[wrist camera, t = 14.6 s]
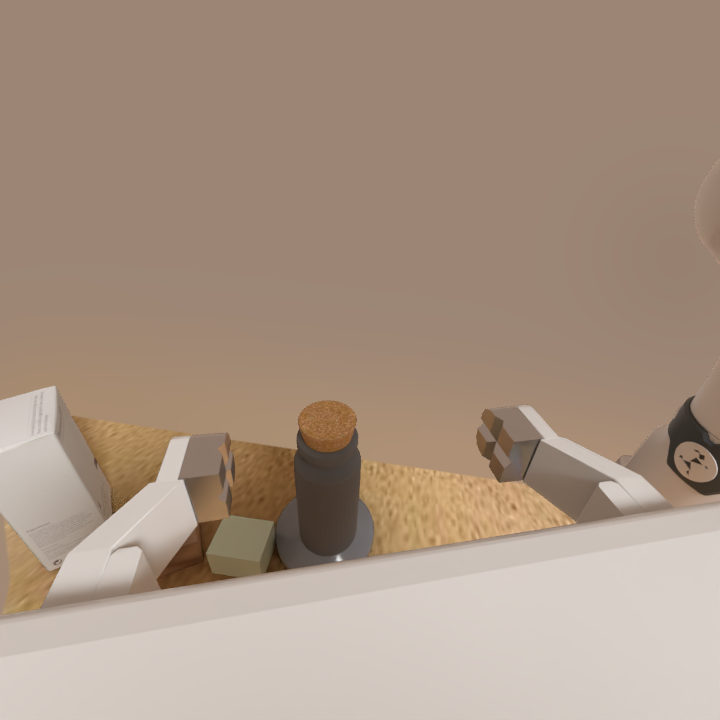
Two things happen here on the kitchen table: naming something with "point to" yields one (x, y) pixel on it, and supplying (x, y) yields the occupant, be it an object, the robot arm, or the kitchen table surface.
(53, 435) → the skincare box
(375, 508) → the kitchen table surface
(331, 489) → the bottle
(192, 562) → the walnut block
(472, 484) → the kitchen table surface
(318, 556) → the grey dome disc
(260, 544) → the sage block
